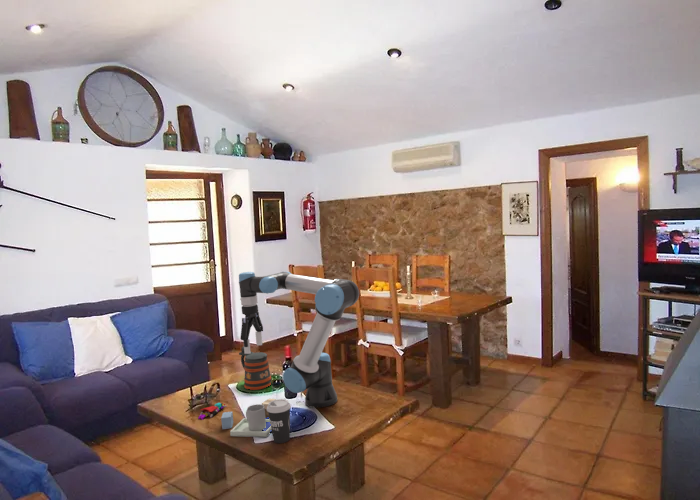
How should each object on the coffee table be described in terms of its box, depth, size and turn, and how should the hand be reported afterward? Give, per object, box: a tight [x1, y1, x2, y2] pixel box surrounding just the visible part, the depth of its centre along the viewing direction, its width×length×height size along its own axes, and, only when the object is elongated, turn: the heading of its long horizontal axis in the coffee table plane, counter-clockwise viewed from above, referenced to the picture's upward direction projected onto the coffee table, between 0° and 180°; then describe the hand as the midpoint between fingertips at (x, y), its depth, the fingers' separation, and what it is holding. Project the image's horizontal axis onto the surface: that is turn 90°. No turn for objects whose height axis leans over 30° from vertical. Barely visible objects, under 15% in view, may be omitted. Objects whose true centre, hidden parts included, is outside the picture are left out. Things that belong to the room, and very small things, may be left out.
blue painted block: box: [220, 411, 234, 430], centre depth 215 cm, size 4×6×5 cm, turn 7°
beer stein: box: [238, 346, 273, 391], centre depth 264 cm, size 19×15×20 cm
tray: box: [229, 417, 271, 438], centre depth 209 cm, size 16×13×2 cm
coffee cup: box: [267, 398, 292, 444], centre depth 197 cm, size 10×10×15 cm
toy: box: [198, 402, 227, 421], centre depth 231 cm, size 8×4×15 cm
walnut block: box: [264, 405, 269, 418], centre depth 221 cm, size 5×5×5 cm
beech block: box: [261, 398, 277, 405], centre depth 230 cm, size 6×4×4 cm, turn 154°
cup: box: [245, 403, 266, 431], centre depth 209 cm, size 7×10×9 cm
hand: (253, 349), depth 236 cm, fingers open, 13 cm apart
